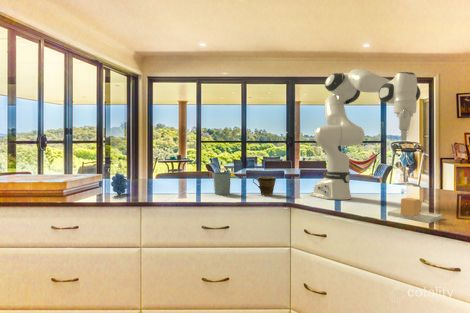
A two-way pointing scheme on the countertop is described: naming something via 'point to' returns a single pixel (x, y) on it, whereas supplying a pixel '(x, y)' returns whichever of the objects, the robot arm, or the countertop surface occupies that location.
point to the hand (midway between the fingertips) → (403, 140)
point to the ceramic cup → (266, 185)
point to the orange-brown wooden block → (410, 206)
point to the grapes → (119, 183)
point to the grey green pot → (222, 183)
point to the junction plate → (422, 217)
